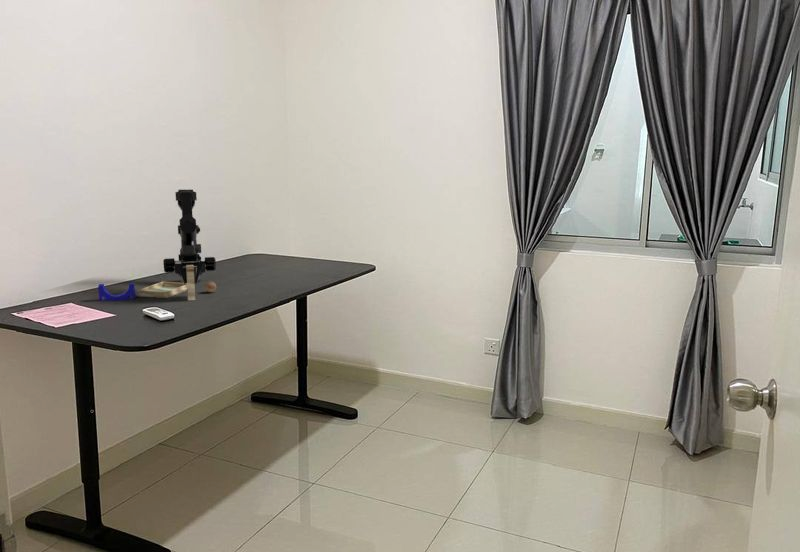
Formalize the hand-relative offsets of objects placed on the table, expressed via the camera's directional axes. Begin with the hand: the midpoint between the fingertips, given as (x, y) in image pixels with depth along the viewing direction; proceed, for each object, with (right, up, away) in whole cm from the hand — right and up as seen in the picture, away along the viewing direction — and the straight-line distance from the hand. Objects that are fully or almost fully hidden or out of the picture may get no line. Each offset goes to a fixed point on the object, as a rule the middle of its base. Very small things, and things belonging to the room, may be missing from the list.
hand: (190, 283), depth 239 cm
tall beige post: (-1, -6, +3) cm, 7 cm away
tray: (-15, -4, +13) cm, 20 cm away
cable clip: (-28, -6, +2) cm, 29 cm away
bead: (+3, -4, +15) cm, 16 cm away
